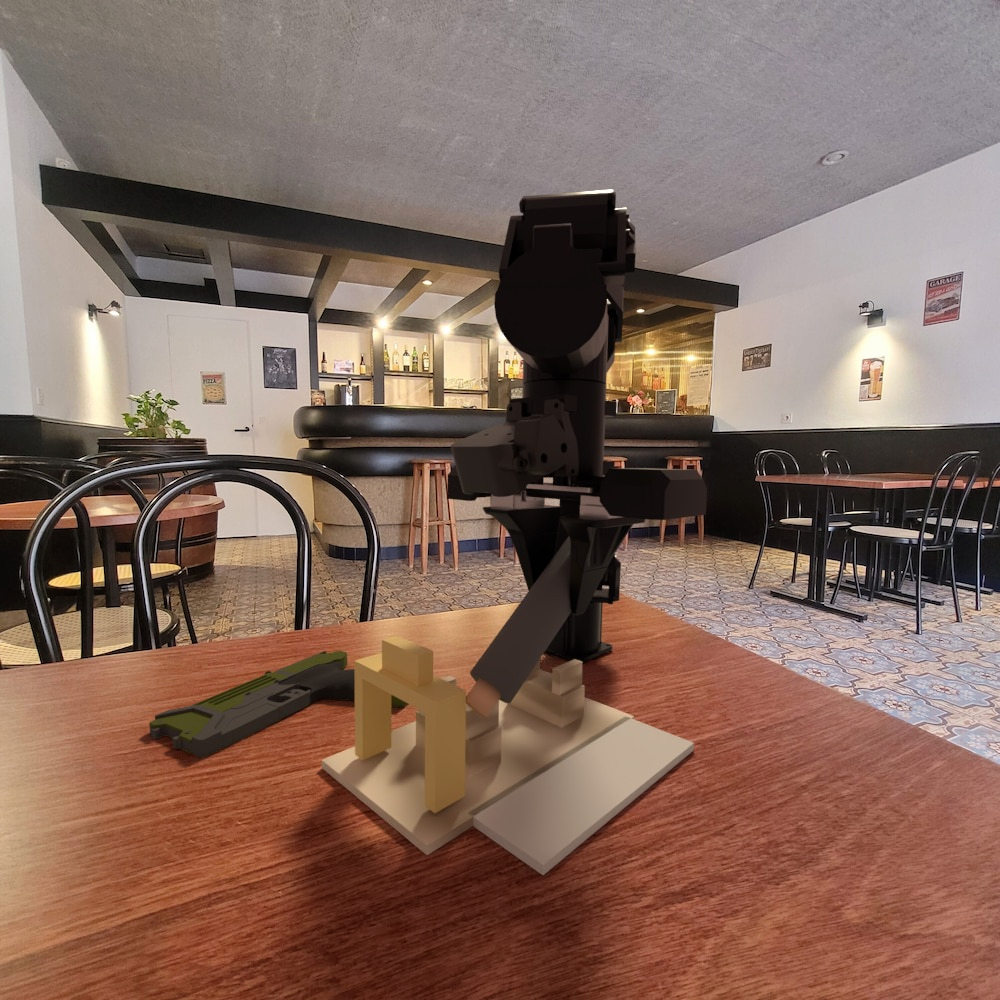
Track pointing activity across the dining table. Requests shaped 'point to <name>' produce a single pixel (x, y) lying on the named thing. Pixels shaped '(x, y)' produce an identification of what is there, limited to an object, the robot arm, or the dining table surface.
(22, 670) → the dining table surface
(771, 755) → the dining table surface
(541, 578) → the dark grey cylinder rod
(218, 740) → the gun
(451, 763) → the strap
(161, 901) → the dining table surface
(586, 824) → the mat
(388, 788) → the holder
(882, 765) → the dining table surface
